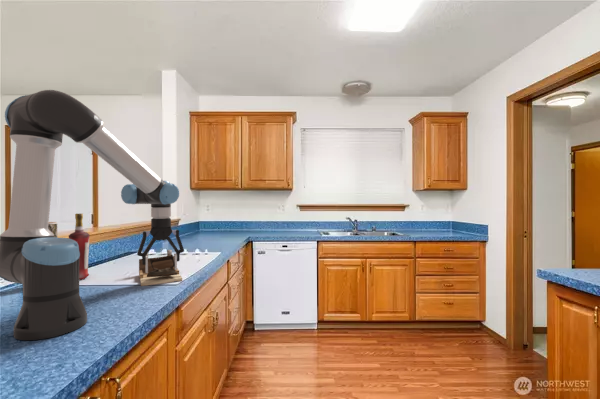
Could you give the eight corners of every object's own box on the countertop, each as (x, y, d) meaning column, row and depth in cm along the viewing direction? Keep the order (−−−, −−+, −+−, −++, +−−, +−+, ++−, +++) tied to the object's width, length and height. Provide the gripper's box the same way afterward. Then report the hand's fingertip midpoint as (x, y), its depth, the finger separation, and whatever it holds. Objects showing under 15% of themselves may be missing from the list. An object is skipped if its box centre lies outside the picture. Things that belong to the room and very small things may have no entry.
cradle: (182, 280, 128) (182, 256, 128) (141, 286, 120) (141, 260, 120) (175, 270, 145) (175, 249, 145) (139, 275, 138) (138, 252, 138)
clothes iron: (179, 275, 129) (174, 253, 126) (150, 286, 122) (144, 263, 120) (174, 270, 134) (169, 249, 132) (146, 280, 127) (140, 258, 125)
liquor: (67, 278, 132) (67, 213, 132) (88, 275, 137) (87, 213, 137) (69, 282, 126) (69, 214, 126) (91, 278, 131) (90, 213, 131)
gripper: (188, 216, 137) (188, 266, 137) (129, 218, 125) (129, 272, 125) (191, 217, 130) (191, 269, 130) (129, 219, 119) (130, 276, 119)
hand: (161, 270), depth 128 cm, fingers closed on clothes iron, 10 cm apart
